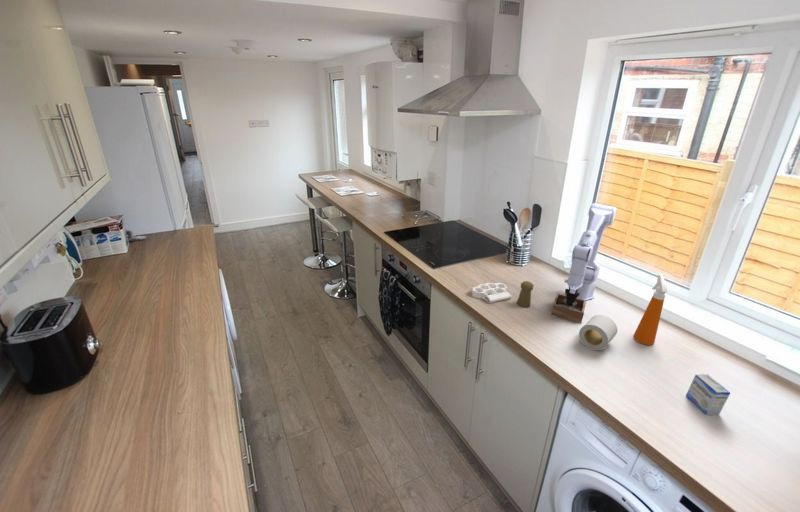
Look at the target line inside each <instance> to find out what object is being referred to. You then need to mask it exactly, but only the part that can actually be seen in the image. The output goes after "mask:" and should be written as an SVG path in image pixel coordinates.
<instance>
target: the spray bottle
mask: <svg viewBox="0 0 800 512" xmlns="http://www.w3.org/2000/svg"><path fill="white" fill-rule="evenodd" d="M664 276H665V275H663V274H662V273H658V275H657V280H656V281H657V282H656V283H655V285H654V286H653V287H652V289H651V290H655V291H654V292H653V294H652V296H651V298H650V300H649V303H648V304H647V307H646V309H645V311H644V313H643V315H642V317H641V319H640V321H639V323H638V325H637V327H636V329H635V331H634V333H633V334H632V335H633V336H632V337H633V339H634V340H635V341H636V342H638V343H640V344H642V345H646V346H652V345H654V344H655V342H656V337H657V333H658V328H659V325H660V319H661V315H662V312H663V311H662V310H663V306H664V303H665V298H666V296H667V294H666V293H667V292H668V288H667V283H666V280H665V277H664Z"/></svg>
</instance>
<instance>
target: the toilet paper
mask: <svg viewBox="0 0 800 512" xmlns="http://www.w3.org/2000/svg"><path fill="white" fill-rule="evenodd" d="M617 333H618V327H617V324H616V322H615V321H614V320H613V319H612V318H611V317H609V316H607V315H604V314H596V315H594V316H592V317H591V318H590V319H588V321H586V323H585V324H584V325H583V326H582V327H580V329H579V332H578V338H579V340H580V341H581V343H582V344H583V345H584V346H585V347H587V349H590V350H592V351H602V350H604V349H605V348H607V347H608V345H609V344H610V342H612V340H613V339H614V338H615V337H616V336H617Z"/></svg>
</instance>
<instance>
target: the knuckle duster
mask: <svg viewBox="0 0 800 512" xmlns="http://www.w3.org/2000/svg"><path fill="white" fill-rule="evenodd" d="M507 288H508V287H507V285H506V284H505V283H502V282H494V283H493V282H487V283H480V284H478V285H477V286H473V287H472V289H471V296H472V297H473V298H475V299H482V300H484V301H486V302H487V303H488V304H490V303H491V304H492V303H496V302H500V301H505V300H510V299H511V298H512V295H511V293H510V292H508V291H507Z"/></svg>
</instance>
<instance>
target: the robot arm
mask: <svg viewBox="0 0 800 512" xmlns="http://www.w3.org/2000/svg"><path fill="white" fill-rule="evenodd" d="M587 214H588V220H589V222H590V223H589V226H588V229H587V230H586V231H584V232H583V233H582V235H581V236H580V239H579V241H578V243H577V244H575V245H574V247H573V250H572V253H571V264H570V265H571V266H570V269H569V274H568V278H567V279H566V278H565V279H564V283H565V284H567V286H568V288H565V289H564V294H565V295H566V298H567V299H566V304H567V305H569V306H572V305H573V303H574V301H575V299H576V298H578V299H582V300H586V301H589V300H592V299H595V296H594V294H595V289H596V287H597V285H596V281H597V280H598V276H599V272H600V265H599V264H598V263H597V262H596V258H597V255H598V251H599V248H600V244H601V242H602V240H603V236H604V232H605V231H606V229H607V227H609V226H612V224H613V223H614V220H615V218H616V214H617V207H616V206H611V205H603V204H599V203H595V202H593V203H591V205H590V206H589V209H588V213H587Z"/></svg>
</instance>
